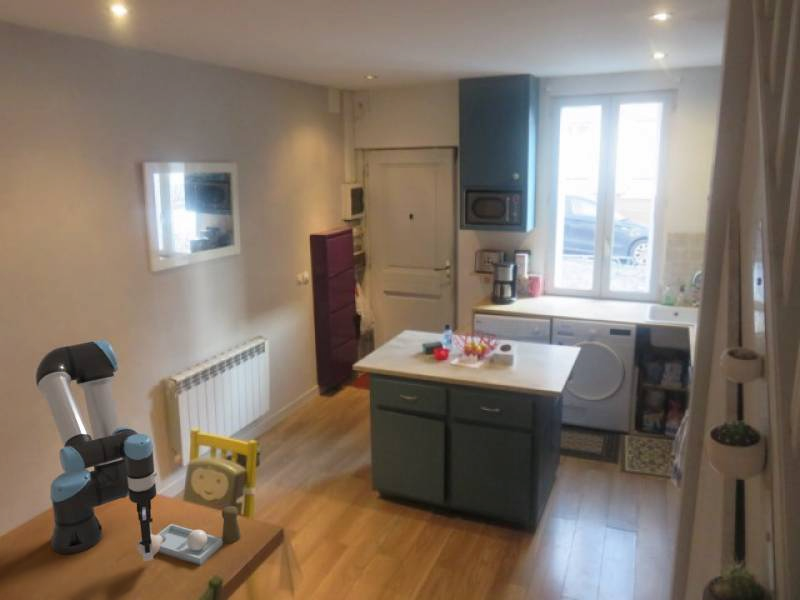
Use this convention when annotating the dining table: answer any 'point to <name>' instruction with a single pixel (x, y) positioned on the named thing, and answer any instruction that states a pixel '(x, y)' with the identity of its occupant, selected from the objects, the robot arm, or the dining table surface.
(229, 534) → the pepper mill
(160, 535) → the light bulb
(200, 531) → the white ball
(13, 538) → the dining table surface
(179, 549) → the tray
